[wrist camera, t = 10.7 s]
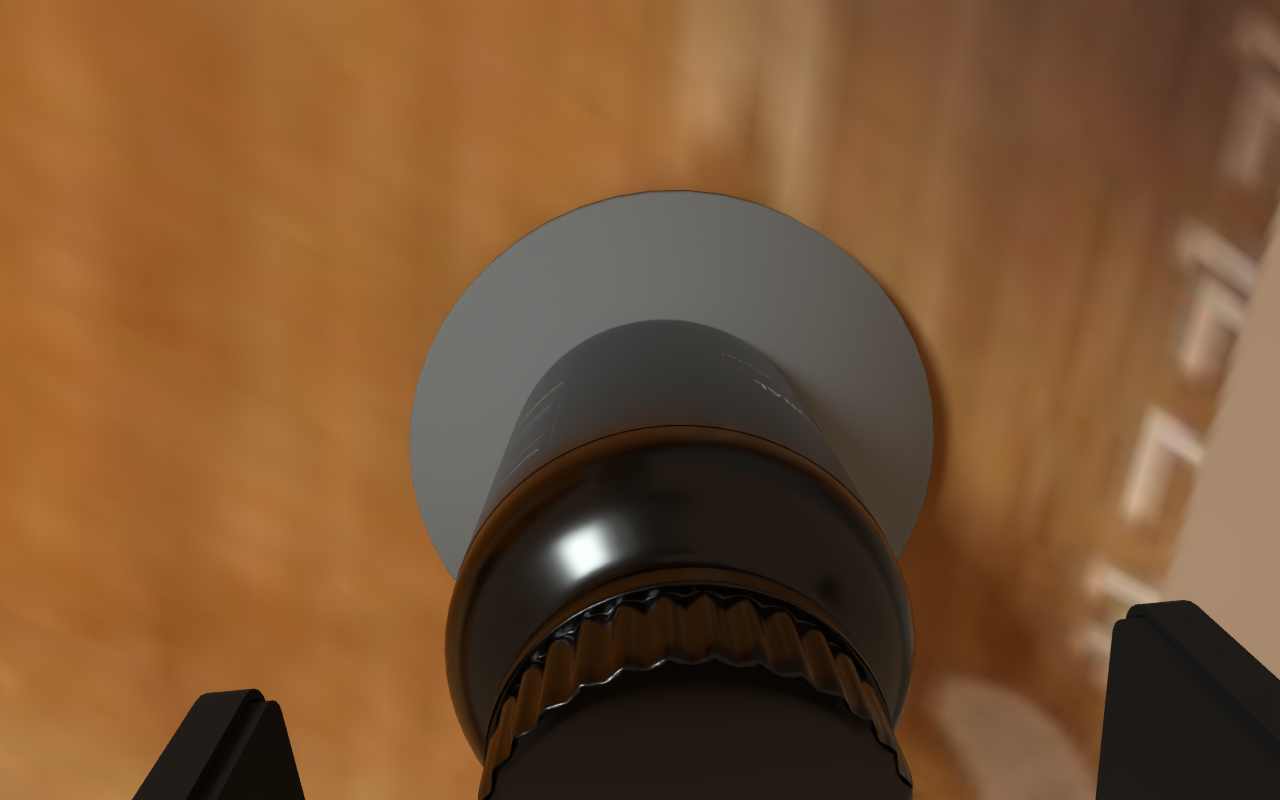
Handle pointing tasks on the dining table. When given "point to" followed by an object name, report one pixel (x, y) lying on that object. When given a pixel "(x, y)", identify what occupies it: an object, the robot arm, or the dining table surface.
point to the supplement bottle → (678, 590)
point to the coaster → (678, 290)
